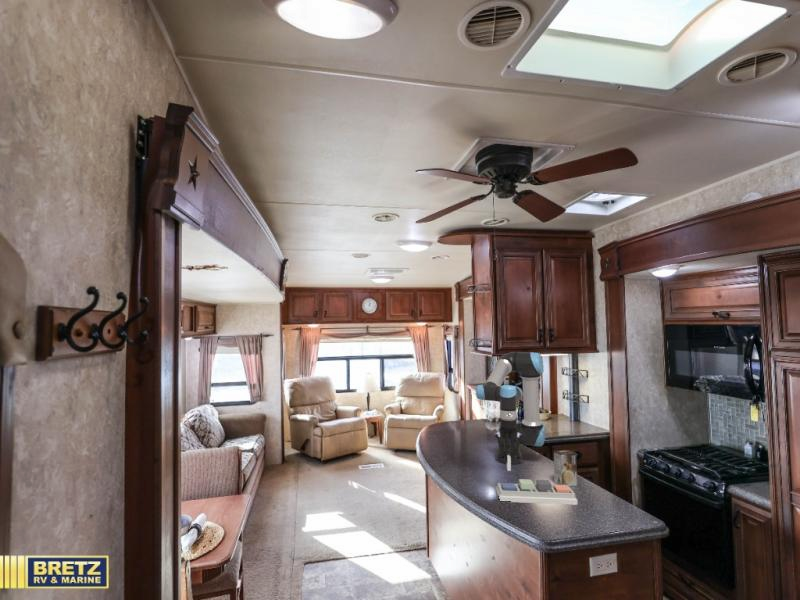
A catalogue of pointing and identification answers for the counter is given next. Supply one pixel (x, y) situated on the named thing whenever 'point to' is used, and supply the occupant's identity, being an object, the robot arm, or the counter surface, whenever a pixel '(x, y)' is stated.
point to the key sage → (526, 484)
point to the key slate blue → (508, 487)
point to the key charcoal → (543, 485)
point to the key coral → (561, 489)
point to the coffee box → (565, 468)
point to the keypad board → (536, 495)
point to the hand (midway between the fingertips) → (508, 469)
